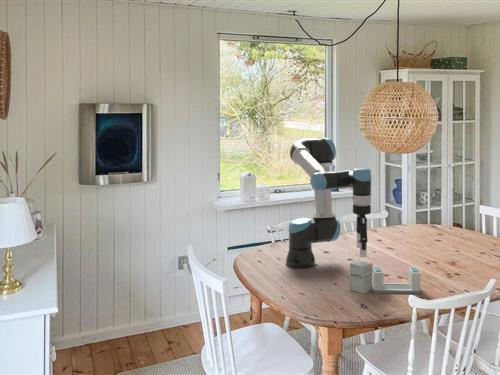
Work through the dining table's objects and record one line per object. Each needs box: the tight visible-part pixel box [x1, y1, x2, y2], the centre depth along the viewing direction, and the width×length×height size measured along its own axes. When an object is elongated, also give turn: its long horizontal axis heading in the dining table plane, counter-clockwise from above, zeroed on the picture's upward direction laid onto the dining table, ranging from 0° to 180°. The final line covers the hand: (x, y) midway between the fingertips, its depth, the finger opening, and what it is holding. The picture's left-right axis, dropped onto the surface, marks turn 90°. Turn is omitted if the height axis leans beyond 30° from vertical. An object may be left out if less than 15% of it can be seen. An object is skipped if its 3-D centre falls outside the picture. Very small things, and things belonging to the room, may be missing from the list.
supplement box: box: [349, 259, 373, 295], centre depth 207 cm, size 7×7×13 cm
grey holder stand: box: [372, 266, 423, 295], centre depth 206 cm, size 20×9×9 cm, turn 83°
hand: (361, 252), depth 204 cm, fingers open, 13 cm apart
